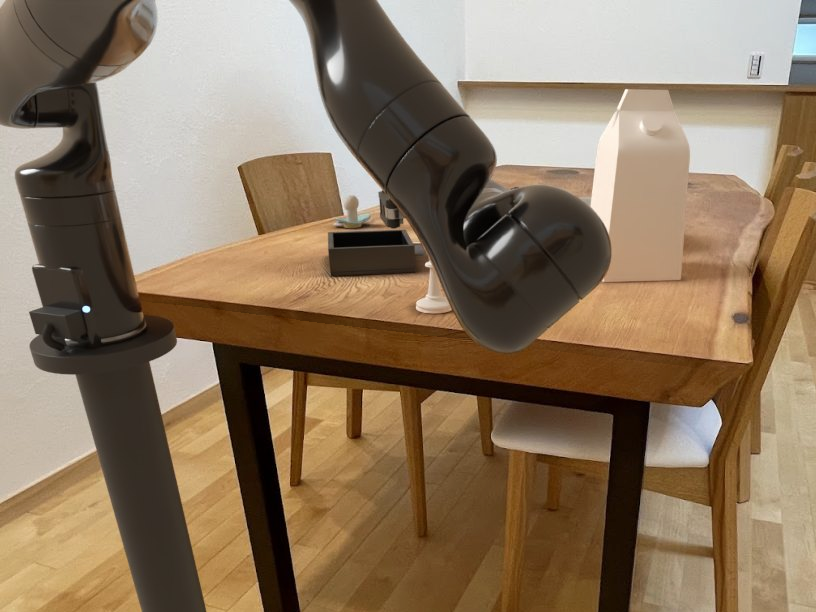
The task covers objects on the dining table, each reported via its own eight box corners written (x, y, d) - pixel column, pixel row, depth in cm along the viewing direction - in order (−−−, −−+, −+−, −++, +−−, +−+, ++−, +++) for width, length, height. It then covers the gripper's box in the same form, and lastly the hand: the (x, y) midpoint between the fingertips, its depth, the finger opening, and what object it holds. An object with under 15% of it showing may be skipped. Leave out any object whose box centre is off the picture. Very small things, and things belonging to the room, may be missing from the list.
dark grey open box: (415, 272, 101) (414, 245, 99) (330, 276, 98) (328, 249, 96) (406, 253, 112) (405, 229, 110) (330, 257, 109) (327, 232, 107)
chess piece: (439, 316, 82) (437, 235, 78) (407, 309, 84) (403, 230, 80) (461, 305, 86) (460, 228, 82) (430, 300, 88) (427, 224, 84)
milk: (654, 261, 109) (672, 90, 99) (680, 279, 99) (704, 90, 88) (583, 263, 108) (594, 88, 97) (603, 282, 97) (617, 89, 87)
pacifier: (327, 226, 133) (341, 230, 129) (324, 194, 131) (337, 197, 126) (360, 222, 137) (374, 226, 133) (357, 191, 135) (371, 194, 131)
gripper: (557, 174, 55) (510, 157, 70) (385, 178, 52) (373, 159, 66) (554, 263, 58) (509, 228, 73) (391, 271, 55) (378, 234, 69)
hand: (444, 195), depth 70 cm, fingers open, 8 cm apart
